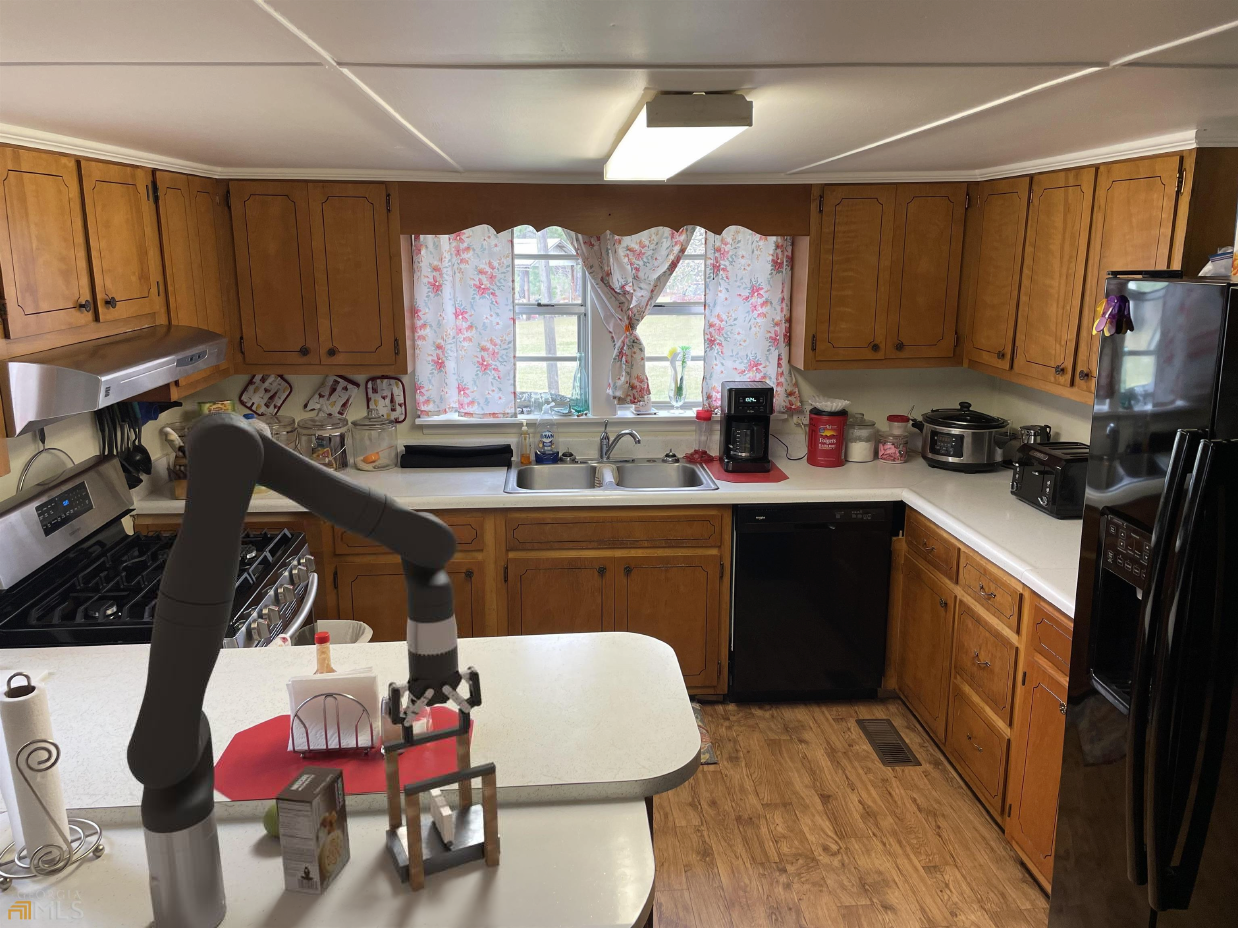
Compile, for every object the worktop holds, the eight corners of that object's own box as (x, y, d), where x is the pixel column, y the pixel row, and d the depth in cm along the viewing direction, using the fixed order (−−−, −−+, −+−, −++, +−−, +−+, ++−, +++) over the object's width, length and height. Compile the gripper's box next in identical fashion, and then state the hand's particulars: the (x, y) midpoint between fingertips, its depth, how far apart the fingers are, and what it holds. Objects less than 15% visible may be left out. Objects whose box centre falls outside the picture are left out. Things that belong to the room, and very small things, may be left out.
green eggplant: (280, 790, 153) (328, 811, 150) (278, 817, 154) (326, 838, 151) (256, 808, 148) (306, 830, 145) (255, 836, 149) (304, 858, 146)
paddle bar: (445, 848, 141) (444, 816, 140) (430, 817, 149) (428, 787, 148) (454, 846, 142) (453, 814, 140) (438, 815, 149) (437, 785, 148)
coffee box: (315, 852, 145) (307, 763, 142) (351, 857, 144) (344, 767, 141) (283, 890, 137) (274, 796, 133) (322, 896, 135) (313, 800, 132)
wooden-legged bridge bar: (385, 753, 145) (384, 746, 144) (383, 749, 146) (383, 742, 146) (469, 732, 151) (468, 726, 151) (467, 729, 152) (466, 723, 152)
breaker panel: (401, 883, 138) (400, 865, 137) (386, 846, 147) (385, 829, 146) (500, 852, 145) (499, 835, 144) (480, 819, 154) (480, 803, 153)
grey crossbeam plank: (405, 796, 133) (405, 789, 133) (403, 792, 134) (403, 784, 134) (495, 772, 139) (495, 765, 139) (493, 768, 140) (493, 761, 140)
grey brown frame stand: (412, 891, 136) (407, 797, 133) (389, 835, 150) (383, 748, 146) (499, 864, 142) (495, 773, 139) (469, 812, 156) (465, 728, 152)
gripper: (391, 660, 132) (397, 760, 135) (484, 642, 138) (488, 738, 142) (380, 641, 138) (386, 737, 142) (469, 625, 145) (473, 717, 148)
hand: (437, 737), depth 142 cm, fingers open, 8 cm apart
